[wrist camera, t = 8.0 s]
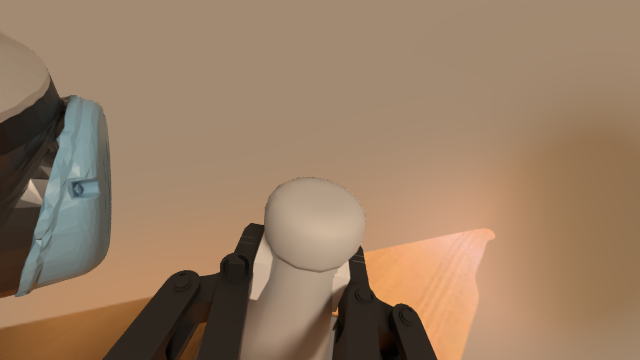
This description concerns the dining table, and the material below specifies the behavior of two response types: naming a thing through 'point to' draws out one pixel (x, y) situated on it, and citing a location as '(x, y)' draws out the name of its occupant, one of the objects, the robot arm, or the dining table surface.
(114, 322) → the dining table surface
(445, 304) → the dining table surface
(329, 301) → the salt shaker
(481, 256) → the dining table surface
